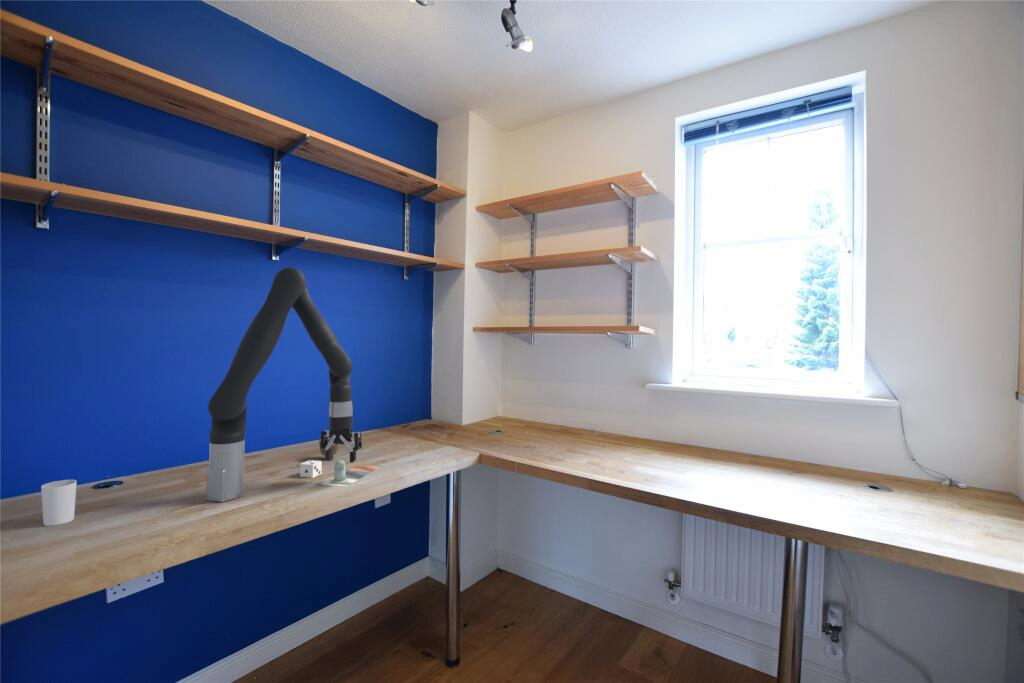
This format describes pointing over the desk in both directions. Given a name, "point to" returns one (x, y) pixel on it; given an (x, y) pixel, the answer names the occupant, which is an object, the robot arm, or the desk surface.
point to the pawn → (339, 473)
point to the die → (310, 468)
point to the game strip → (354, 474)
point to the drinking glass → (58, 502)
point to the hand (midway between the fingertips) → (341, 461)
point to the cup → (325, 450)
